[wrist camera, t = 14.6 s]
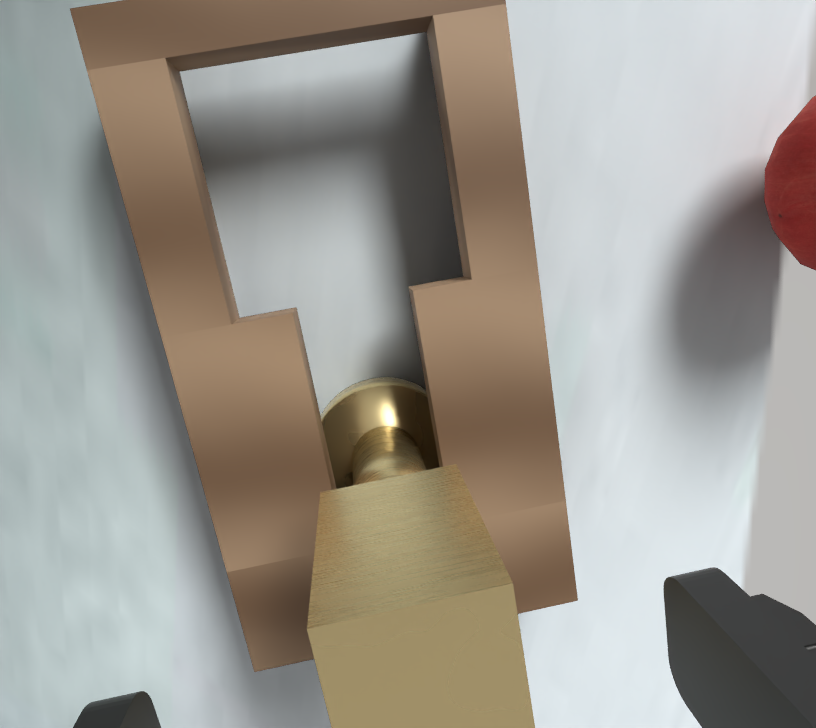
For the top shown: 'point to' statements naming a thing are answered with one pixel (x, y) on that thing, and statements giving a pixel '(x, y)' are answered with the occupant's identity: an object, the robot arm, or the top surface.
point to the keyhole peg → (408, 578)
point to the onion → (794, 186)
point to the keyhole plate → (280, 330)
